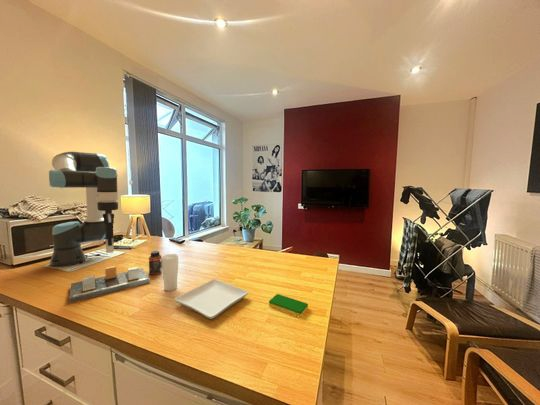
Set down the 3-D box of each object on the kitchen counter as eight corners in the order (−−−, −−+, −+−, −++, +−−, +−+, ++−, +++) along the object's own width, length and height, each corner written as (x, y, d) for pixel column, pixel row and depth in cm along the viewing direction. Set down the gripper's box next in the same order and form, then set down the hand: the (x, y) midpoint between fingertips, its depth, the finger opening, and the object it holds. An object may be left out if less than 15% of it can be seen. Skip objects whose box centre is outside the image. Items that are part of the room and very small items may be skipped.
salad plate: (211, 326, 72) (211, 316, 72) (173, 306, 83) (173, 298, 83) (249, 298, 90) (249, 291, 90) (214, 285, 101) (214, 278, 101)
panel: (71, 287, 96) (70, 272, 95) (143, 272, 114) (142, 258, 113) (69, 303, 84) (68, 285, 83) (149, 282, 102) (149, 267, 101)
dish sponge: (277, 299, 90) (277, 293, 90) (308, 309, 83) (308, 303, 83) (268, 307, 84) (268, 301, 84) (300, 319, 77) (300, 312, 77)
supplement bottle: (164, 271, 115) (164, 251, 114) (154, 275, 109) (153, 254, 109) (156, 269, 117) (156, 249, 116) (146, 273, 112) (146, 252, 111)
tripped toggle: (105, 277, 101) (105, 267, 101) (115, 275, 104) (115, 265, 103) (105, 279, 99) (105, 269, 99) (116, 277, 102) (115, 267, 102)
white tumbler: (182, 286, 99) (181, 254, 98) (170, 293, 92) (170, 259, 91) (170, 284, 101) (169, 253, 100) (158, 290, 95) (157, 257, 93)
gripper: (96, 200, 100) (99, 249, 102) (97, 203, 90) (100, 257, 92) (116, 200, 104) (118, 247, 107) (119, 202, 95) (121, 254, 97)
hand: (110, 251), depth 99 cm, fingers closed
